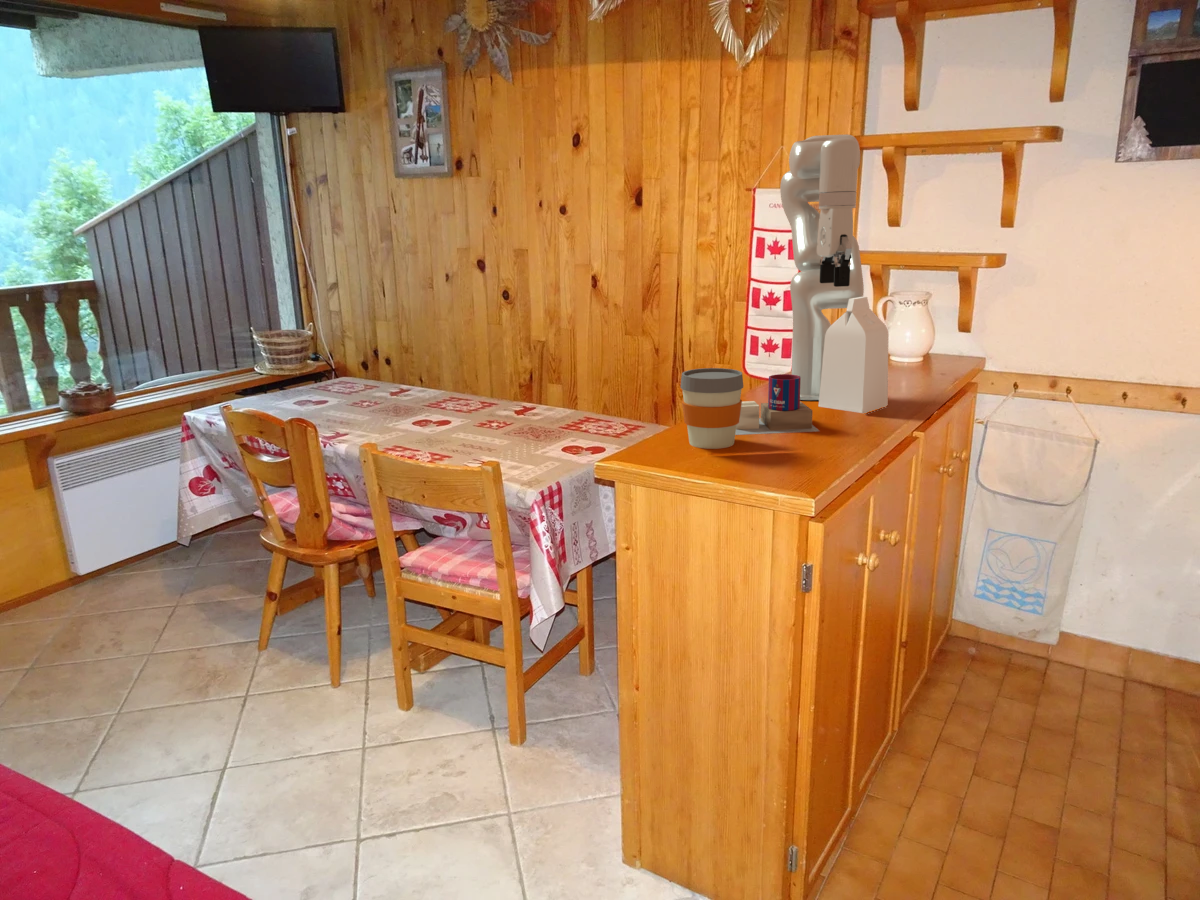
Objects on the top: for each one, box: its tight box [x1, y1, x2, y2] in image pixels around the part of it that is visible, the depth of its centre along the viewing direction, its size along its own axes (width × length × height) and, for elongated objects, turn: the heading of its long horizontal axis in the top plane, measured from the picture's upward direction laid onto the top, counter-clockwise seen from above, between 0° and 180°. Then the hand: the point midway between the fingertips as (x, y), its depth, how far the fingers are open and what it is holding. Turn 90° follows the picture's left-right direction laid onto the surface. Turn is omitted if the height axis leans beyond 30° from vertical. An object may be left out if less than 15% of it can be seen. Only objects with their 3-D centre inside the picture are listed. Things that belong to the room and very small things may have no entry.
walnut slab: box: [760, 401, 813, 430], centre depth 185 cm, size 9×9×4 cm
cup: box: [767, 373, 801, 411], centre depth 184 cm, size 7×10×7 cm
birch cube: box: [736, 400, 760, 429], centre depth 185 cm, size 5×5×5 cm
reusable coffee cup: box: [680, 367, 744, 450], centre depth 171 cm, size 13×13×15 cm
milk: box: [818, 296, 890, 414], centre depth 199 cm, size 12×12×26 cm
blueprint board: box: [735, 417, 820, 436], centre depth 186 cm, size 14×18×1 cm
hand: (834, 284), depth 181 cm, fingers open, 9 cm apart
